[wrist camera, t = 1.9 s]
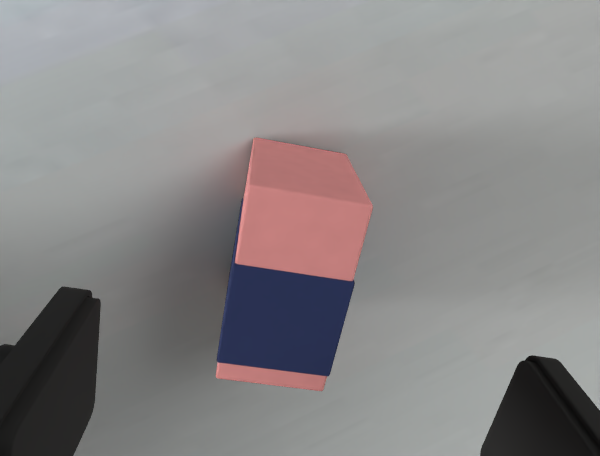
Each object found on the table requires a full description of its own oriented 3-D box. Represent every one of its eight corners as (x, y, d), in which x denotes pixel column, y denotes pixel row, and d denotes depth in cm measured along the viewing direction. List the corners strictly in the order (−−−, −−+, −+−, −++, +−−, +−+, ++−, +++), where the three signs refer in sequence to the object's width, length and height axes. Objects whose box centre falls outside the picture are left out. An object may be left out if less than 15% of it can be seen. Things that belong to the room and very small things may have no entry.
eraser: (252, 135, 17) (246, 184, 12) (348, 153, 18) (376, 206, 13) (227, 290, 19) (213, 380, 15) (311, 302, 20) (325, 393, 15)
